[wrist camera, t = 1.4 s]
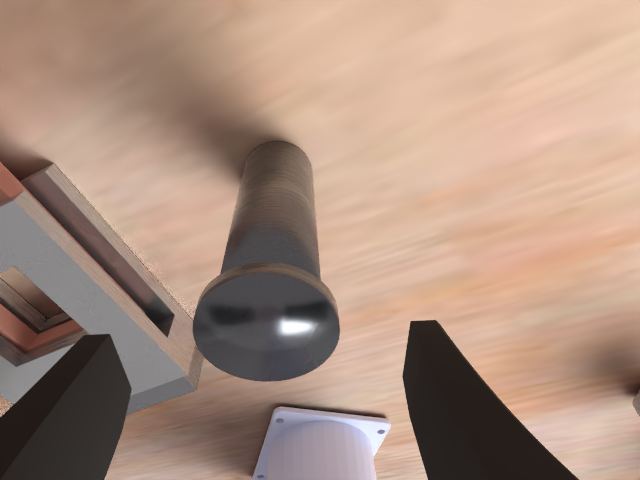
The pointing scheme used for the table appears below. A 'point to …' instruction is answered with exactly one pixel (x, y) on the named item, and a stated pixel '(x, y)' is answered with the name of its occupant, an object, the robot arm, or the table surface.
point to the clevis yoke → (89, 295)
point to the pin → (270, 277)
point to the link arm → (8, 325)
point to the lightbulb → (637, 403)
